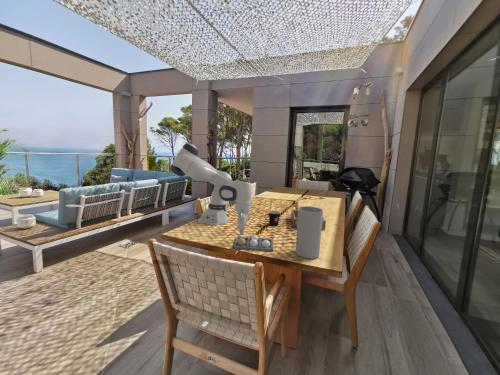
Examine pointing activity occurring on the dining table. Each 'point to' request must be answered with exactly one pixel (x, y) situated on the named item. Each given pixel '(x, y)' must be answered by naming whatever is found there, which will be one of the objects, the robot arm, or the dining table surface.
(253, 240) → the cream egg
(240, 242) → the brown egg
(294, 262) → the dining table surface
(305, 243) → the cylinder vase
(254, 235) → the cream egg
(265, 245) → the cream egg
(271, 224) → the coffee mug
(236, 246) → the egg tray
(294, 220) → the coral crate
